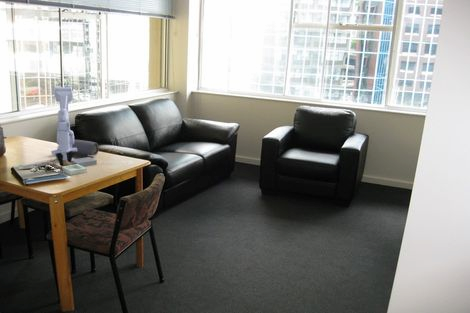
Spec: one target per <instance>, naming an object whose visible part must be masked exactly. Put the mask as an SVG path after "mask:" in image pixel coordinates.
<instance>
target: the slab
mask: <svg viewBox="0 0 470 313" xmlns="http://www.w3.org/2000/svg"><path fill="white" fill-rule="evenodd" d="M97 161H98V160H97V159H95V158H93V157H91V156H86V157H81V158H75V159H73V160H71V165H75V164H78V165H81V166H83V167H89V166H95V165H97V164H98V163H97Z"/></svg>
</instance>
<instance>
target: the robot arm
mask: <svg viewBox="0 0 470 313" xmlns="http://www.w3.org/2000/svg"><path fill="white" fill-rule="evenodd" d="M53 90H54V99H55V101H56V102H58V103H59V110H58V112H57V123H56V129H57V131H56V144H57V148H56V149H55V150H51V155H52V156H55V157H56V160H58V163H60V164H59V166H60V167H62V166H63V160H66V161H68V162H70V163H71V160H73V159H76V158H75V157H74V151H77V148H72V145H73V144H74V140H75V135H74V131H73V130H71V125H70V123H71V122H70V118H69V117H70V115H69V114H70V112H69V104H70V102H72V101H73V87H72V86H69V87H66V86H65V87H64V86H55V87H54V89H53Z"/></svg>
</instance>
